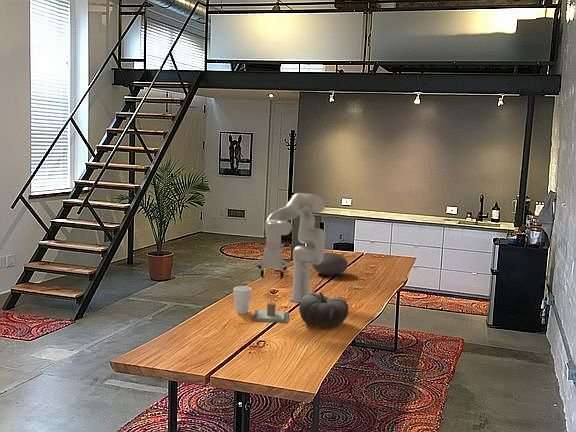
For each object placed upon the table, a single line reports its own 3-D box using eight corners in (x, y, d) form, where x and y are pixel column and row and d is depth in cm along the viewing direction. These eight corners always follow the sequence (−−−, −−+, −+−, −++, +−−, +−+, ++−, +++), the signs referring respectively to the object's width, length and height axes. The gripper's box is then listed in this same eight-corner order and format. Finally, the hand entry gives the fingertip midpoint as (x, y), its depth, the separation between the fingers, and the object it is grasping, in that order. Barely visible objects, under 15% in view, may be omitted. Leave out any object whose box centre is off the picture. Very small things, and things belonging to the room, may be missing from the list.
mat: (288, 312, 340) (288, 312, 340) (287, 323, 322) (287, 322, 322) (255, 311, 340) (255, 310, 340) (252, 321, 323) (252, 320, 322)
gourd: (297, 310, 336) (304, 280, 332) (343, 320, 336) (350, 290, 332) (295, 329, 312) (302, 297, 307) (344, 340, 311) (352, 308, 307)
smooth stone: (353, 274, 439) (354, 253, 437) (336, 280, 418) (337, 258, 416) (322, 269, 452) (323, 248, 450) (304, 274, 431) (305, 253, 429)
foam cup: (253, 311, 340) (254, 287, 339) (246, 315, 332) (247, 291, 330) (237, 308, 343) (237, 285, 342) (229, 313, 335) (230, 289, 333)
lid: (284, 312, 338) (285, 300, 337) (283, 320, 324) (284, 307, 323) (258, 311, 338) (259, 299, 337) (256, 319, 324) (257, 306, 324)
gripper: (290, 245, 330) (288, 277, 332) (257, 243, 331) (255, 275, 333) (289, 248, 323) (288, 280, 325) (255, 246, 323) (254, 279, 325)
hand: (271, 278), depth 329 cm, fingers open, 9 cm apart
